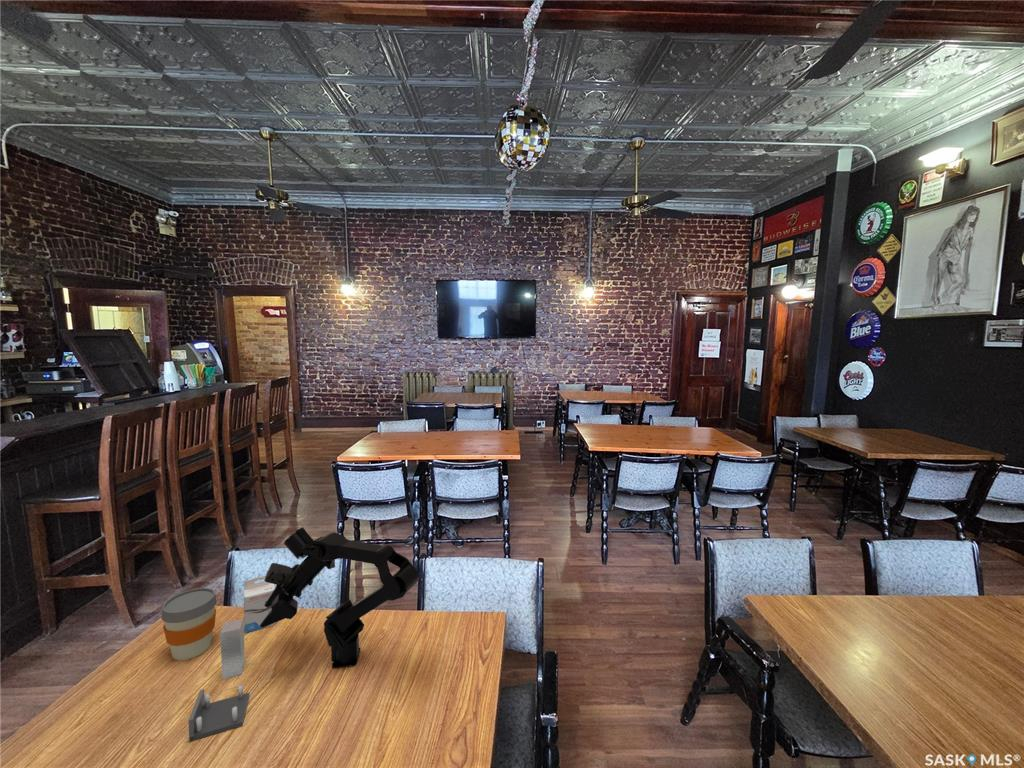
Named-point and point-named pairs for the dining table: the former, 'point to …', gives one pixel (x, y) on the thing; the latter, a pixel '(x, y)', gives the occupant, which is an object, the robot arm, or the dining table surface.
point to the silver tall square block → (232, 649)
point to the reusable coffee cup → (189, 622)
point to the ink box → (256, 602)
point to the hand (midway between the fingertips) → (263, 616)
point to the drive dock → (216, 714)
